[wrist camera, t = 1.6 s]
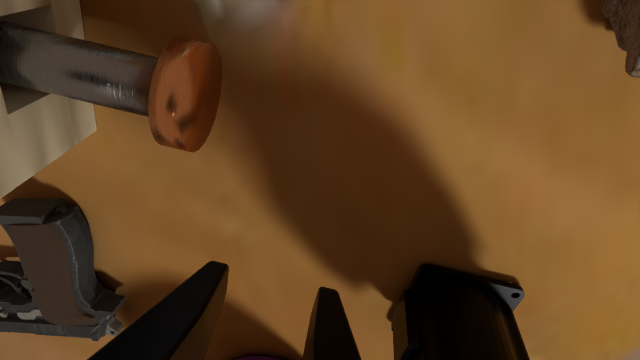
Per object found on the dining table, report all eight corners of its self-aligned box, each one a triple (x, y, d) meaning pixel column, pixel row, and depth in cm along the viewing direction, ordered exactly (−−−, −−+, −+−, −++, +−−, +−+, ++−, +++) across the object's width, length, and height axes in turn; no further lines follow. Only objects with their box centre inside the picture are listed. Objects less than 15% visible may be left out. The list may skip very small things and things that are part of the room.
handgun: (-172, 217, 26) (-66, 338, 32) (52, 215, 22) (127, 354, 28) (-122, 195, 29) (-32, 310, 34) (87, 189, 25) (150, 321, 30)
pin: (224, 32, 16) (181, 62, 13) (219, 125, 19) (180, 172, 15) (-59, -36, 16) (-185, -26, 13) (-28, 66, 19) (-126, 99, 15)
